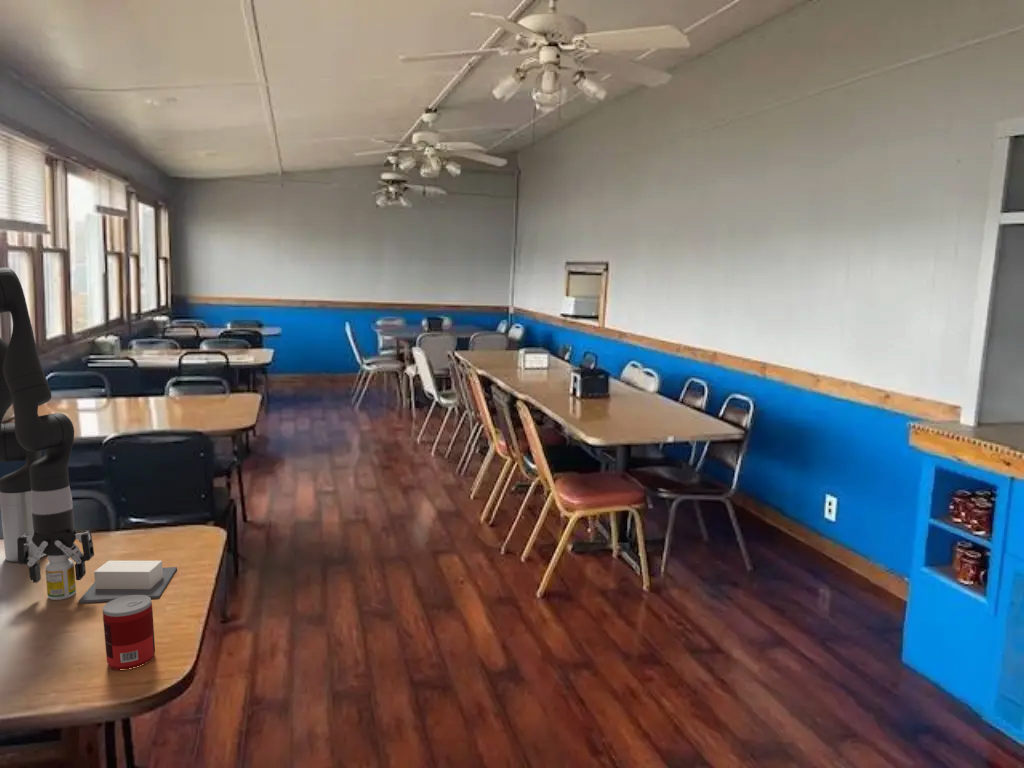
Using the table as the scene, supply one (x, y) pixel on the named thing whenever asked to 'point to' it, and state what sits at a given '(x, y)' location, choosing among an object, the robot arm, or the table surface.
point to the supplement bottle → (60, 577)
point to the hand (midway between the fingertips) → (58, 580)
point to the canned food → (129, 631)
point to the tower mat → (128, 590)
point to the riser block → (128, 575)
